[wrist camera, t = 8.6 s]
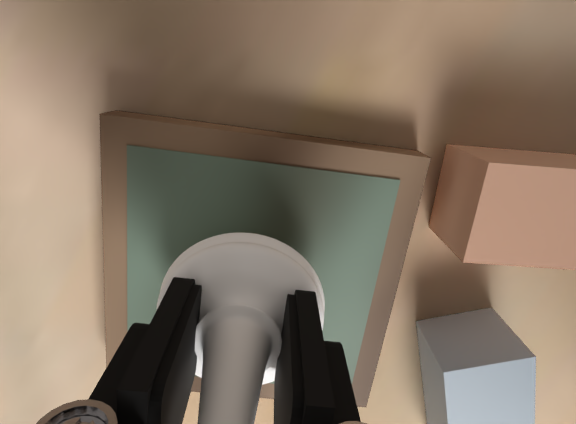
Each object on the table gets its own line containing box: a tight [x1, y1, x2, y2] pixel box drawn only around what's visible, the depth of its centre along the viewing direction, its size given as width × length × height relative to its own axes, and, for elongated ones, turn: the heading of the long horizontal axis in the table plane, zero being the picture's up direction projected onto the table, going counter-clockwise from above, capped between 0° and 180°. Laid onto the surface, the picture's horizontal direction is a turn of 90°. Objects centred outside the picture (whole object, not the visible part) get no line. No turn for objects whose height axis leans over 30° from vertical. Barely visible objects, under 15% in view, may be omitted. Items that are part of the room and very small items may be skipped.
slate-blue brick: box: [416, 307, 536, 424], centre depth 15 cm, size 6×3×3 cm, turn 12°
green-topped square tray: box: [100, 110, 431, 407], centre depth 14 cm, size 10×10×1 cm
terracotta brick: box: [429, 144, 576, 270], centre depth 12 cm, size 6×3×3 cm, turn 85°
